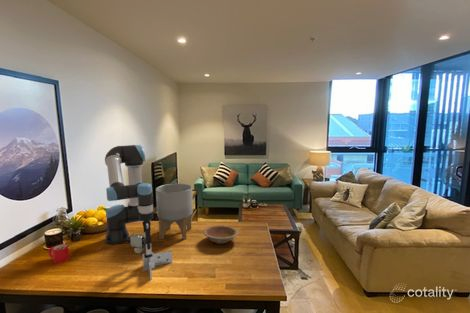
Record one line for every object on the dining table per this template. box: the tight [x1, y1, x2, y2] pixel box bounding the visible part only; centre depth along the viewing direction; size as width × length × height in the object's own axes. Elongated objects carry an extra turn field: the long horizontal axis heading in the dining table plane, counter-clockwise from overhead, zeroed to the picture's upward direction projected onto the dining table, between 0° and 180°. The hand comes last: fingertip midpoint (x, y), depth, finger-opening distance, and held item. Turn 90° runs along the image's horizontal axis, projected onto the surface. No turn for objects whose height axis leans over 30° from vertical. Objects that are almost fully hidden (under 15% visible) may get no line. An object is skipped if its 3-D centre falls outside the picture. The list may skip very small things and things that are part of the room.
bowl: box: [202, 224, 239, 245], centre depth 177 cm, size 24×24×8 cm
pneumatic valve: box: [127, 233, 145, 254], centre depth 163 cm, size 6×12×12 cm, turn 78°
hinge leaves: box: [142, 249, 173, 281], centre depth 144 cm, size 16×16×7 cm
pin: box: [143, 237, 151, 258], centre depth 146 cm, size 4×4×17 cm
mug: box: [47, 243, 70, 264], centre depth 155 cm, size 8×12×8 cm, turn 86°
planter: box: [155, 182, 194, 241], centre depth 187 cm, size 25×25×34 cm
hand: (147, 248), depth 145 cm, fingers open, 13 cm apart
